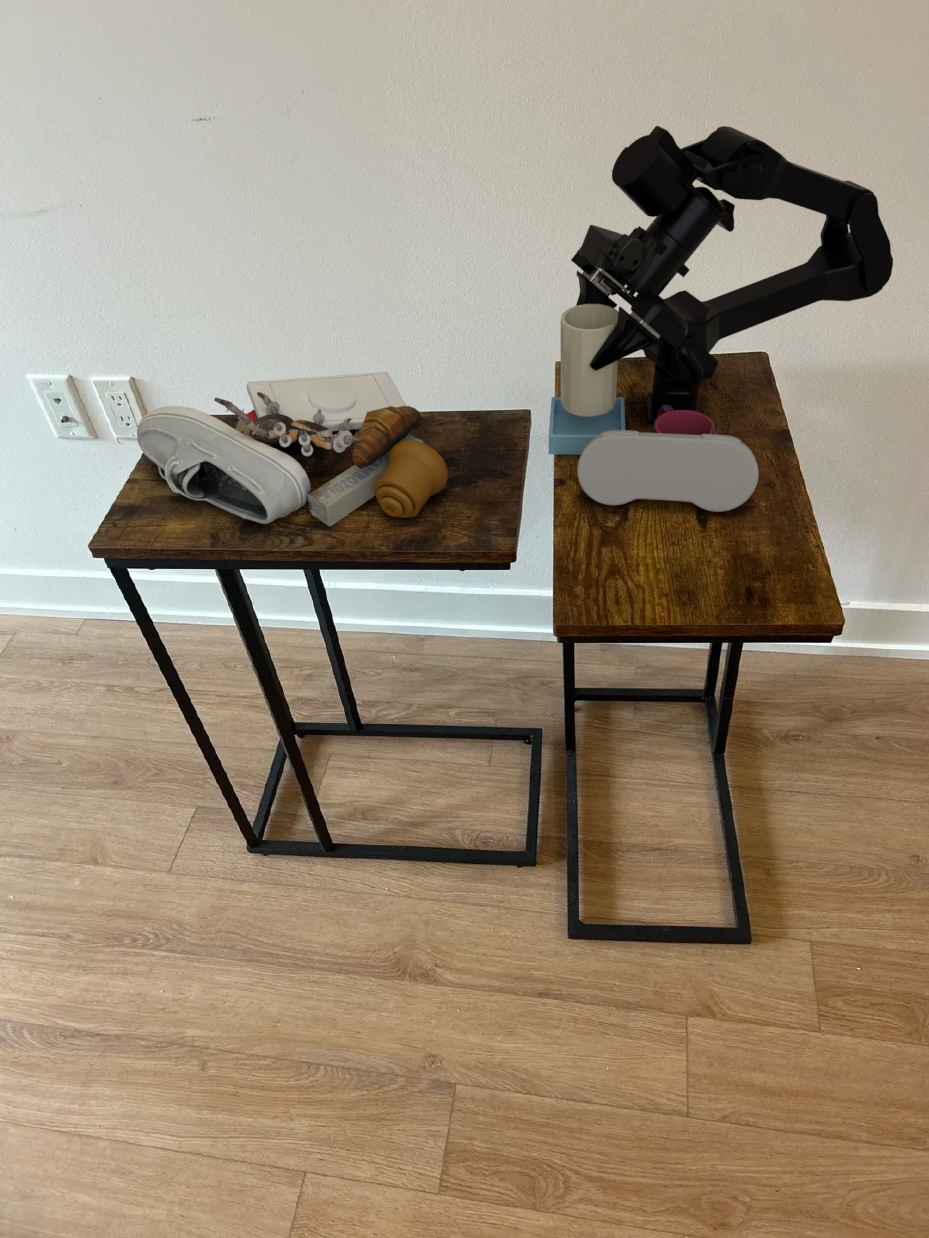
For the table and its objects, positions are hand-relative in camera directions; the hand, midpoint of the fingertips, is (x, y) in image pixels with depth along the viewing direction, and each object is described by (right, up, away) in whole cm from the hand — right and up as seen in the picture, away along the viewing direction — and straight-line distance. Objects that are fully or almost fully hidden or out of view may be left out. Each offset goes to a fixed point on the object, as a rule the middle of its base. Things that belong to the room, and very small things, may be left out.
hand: (578, 355), depth 104 cm
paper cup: (+2, -4, +5) cm, 7 cm away
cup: (+12, -13, +2) cm, 18 cm away
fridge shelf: (+2, -8, +8) cm, 11 cm away
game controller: (+9, -18, -4) cm, 21 cm away
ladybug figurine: (-39, -7, +13) cm, 42 cm away
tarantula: (-32, -7, 0) cm, 33 cm away
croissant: (-21, -11, 0) cm, 24 cm away
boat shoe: (-41, -11, +3) cm, 43 cm away
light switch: (-40, -4, +8) cm, 41 cm away
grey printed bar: (-27, -13, +3) cm, 30 cm away
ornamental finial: (-23, -15, -1) cm, 28 cm away
